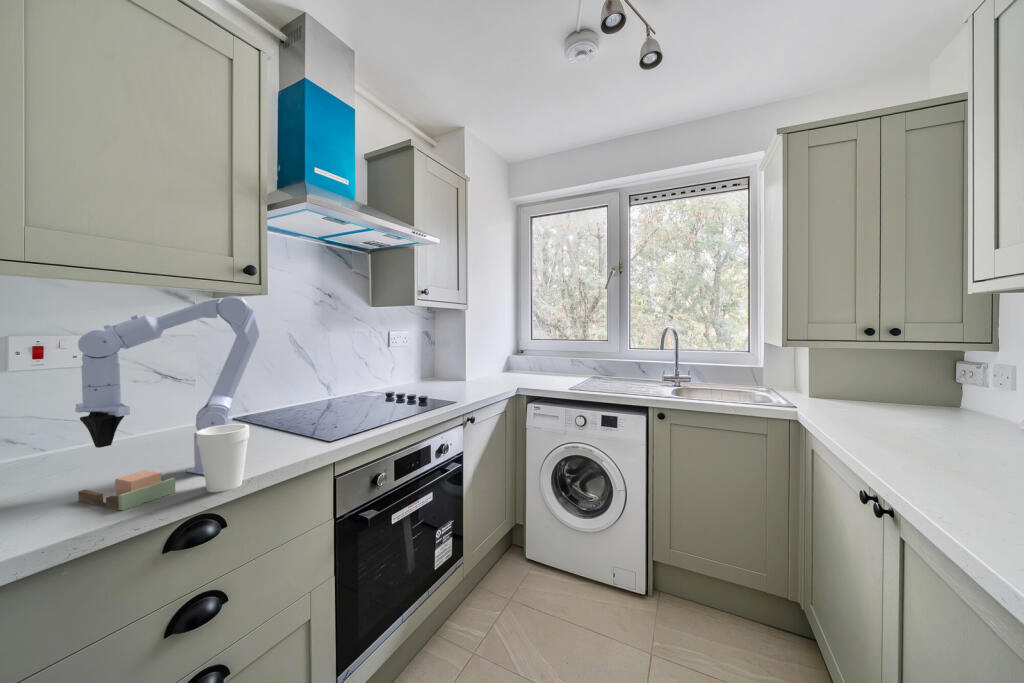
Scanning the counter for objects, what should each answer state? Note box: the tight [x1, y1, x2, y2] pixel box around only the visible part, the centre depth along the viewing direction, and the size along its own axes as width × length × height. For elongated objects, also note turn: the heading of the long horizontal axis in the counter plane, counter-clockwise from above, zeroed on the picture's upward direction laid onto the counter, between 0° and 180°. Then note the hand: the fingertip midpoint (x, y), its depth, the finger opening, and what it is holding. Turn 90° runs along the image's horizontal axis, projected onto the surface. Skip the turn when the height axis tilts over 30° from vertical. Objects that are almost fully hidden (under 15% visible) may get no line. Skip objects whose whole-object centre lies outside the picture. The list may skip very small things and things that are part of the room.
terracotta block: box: [114, 469, 162, 497], centre depth 79 cm, size 5×5×5 cm
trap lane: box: [77, 477, 176, 511], centre depth 80 cm, size 9×14×3 cm, turn 72°
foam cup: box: [196, 423, 250, 493], centre depth 85 cm, size 10×9×13 cm
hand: (103, 446), depth 84 cm, fingers closed
